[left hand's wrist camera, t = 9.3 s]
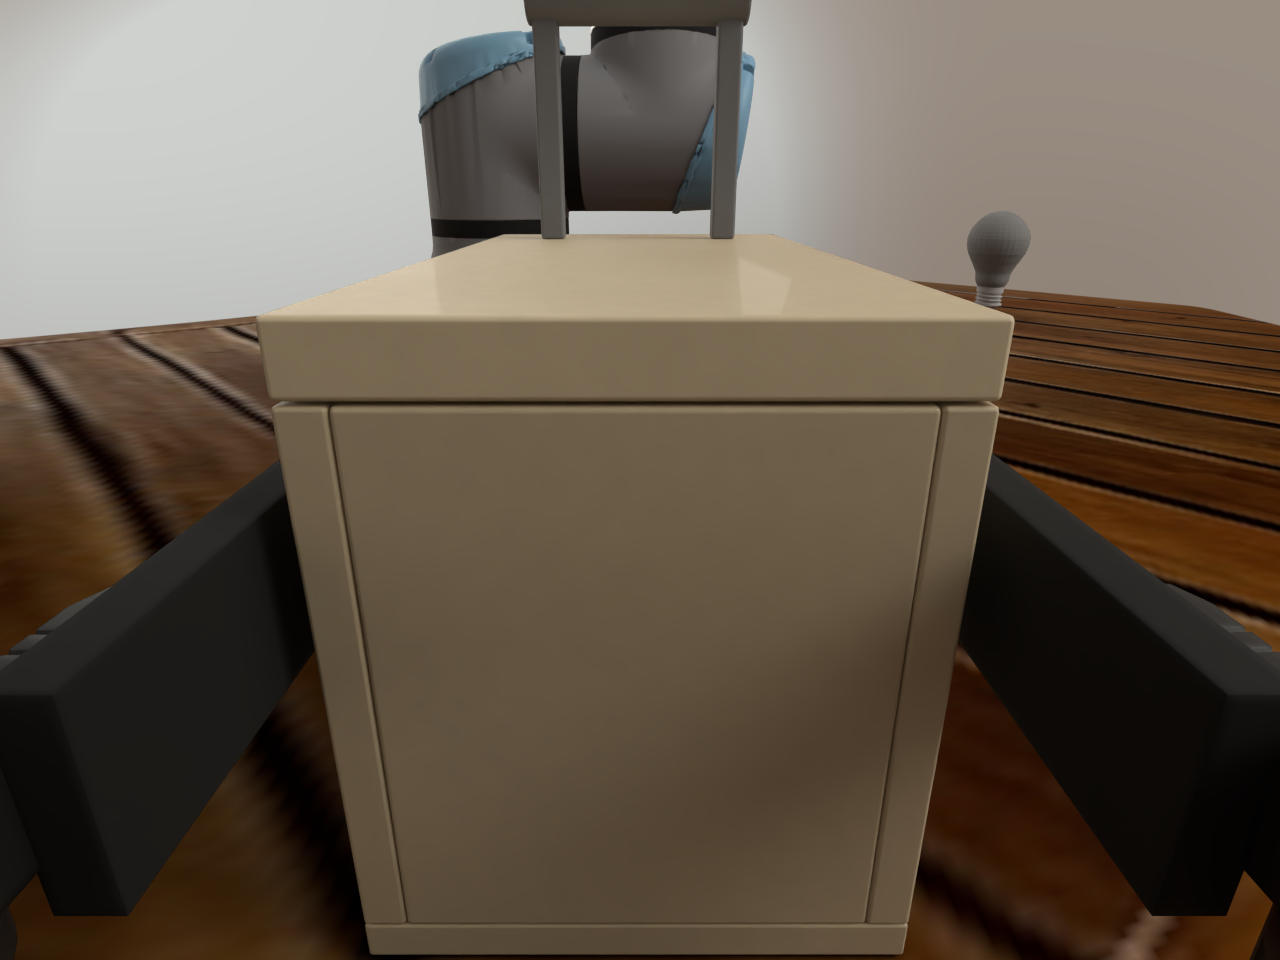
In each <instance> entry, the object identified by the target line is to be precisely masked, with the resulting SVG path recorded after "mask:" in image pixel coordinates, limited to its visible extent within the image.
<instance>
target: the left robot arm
mask: <svg viewBox="0 0 1280 960" xmlns="http://www.w3.org/2000/svg"><path fill="white" fill-rule="evenodd" d="M958 641H959V642H960V644H961V645H962V646H963V648H964V649H965V651H966V652H967V654H968V655H969V656H970V658H971V659H972V661H973V662H974V664H975V665H976V666H977V668H978V669H979V671H980V672H981V673H982V675H983V676H984V678H985V679H986V681H987V682H988V683H989V685H990V686H991V688H992V689H993V691H994V692H995V693H996V695H997V696H998V698H999V699H1000V700H1001V702H1002V703H1003V705H1004V706H1005V708H1006V709H1007V710H1008V712H1009V713H1010V715H1011V716H1012V718H1013V719H1014V720H1015V722H1016V723H1017V725H1018V726H1019V727H1020V729H1021V730H1022V732H1023V733H1024V735H1025V736H1026V737H1027V739H1028V740H1029V742H1030V743H1031V745H1032V746H1033V747H1034V749H1035V750H1036V752H1037V753H1038V754H1039V756H1040V757H1041V759H1042V760H1043V762H1044V763H1045V764H1046V766H1047V767H1048V769H1049V770H1050V772H1051V773H1052V774H1053V776H1054V777H1055V779H1056V780H1057V781H1058V783H1059V784H1060V786H1061V787H1062V789H1063V790H1064V791H1065V793H1066V794H1067V796H1068V797H1069V799H1070V800H1071V801H1072V803H1073V804H1074V806H1075V807H1076V808H1077V810H1078V811H1079V813H1080V814H1081V816H1082V817H1083V818H1084V820H1085V821H1086V823H1087V824H1088V826H1089V827H1090V828H1091V830H1092V831H1093V833H1094V834H1095V835H1096V837H1097V838H1098V840H1099V841H1100V843H1101V844H1102V845H1103V847H1104V848H1105V850H1106V851H1107V853H1108V854H1109V855H1110V857H1111V858H1112V860H1113V861H1114V862H1115V864H1116V865H1117V867H1118V868H1119V870H1120V871H1121V872H1122V874H1123V875H1124V877H1125V878H1126V880H1127V881H1128V882H1129V884H1130V885H1131V887H1132V888H1133V889H1134V891H1135V892H1136V894H1137V895H1138V897H1139V898H1140V899H1141V901H1142V902H1143V904H1144V905H1145V907H1146V908H1147V909H1148V911H1149V912H1150V914H1151V915H1152V916H1226V915H1227V912H1228V910H1229V907H1230V905H1231V902H1232V900H1233V897H1234V895H1235V892H1236V889H1237V887H1238V884H1239V882H1240V879H1241V877H1242V874H1243V872H1244V870H1245V872H1246V873H1247V874H1248V875H1249V876H1250V877H1251V878H1252V879H1253V881H1254V882H1255V883H1256V884H1257V885H1258V886H1259V887H1260V888H1261V890H1262V891H1263V892H1264V893H1265V894H1266V895H1267V896H1268V898H1269V899H1270V900H1271V901H1272V902H1273V905H1272V907H1271V910H1270V912H1269V914H1268V917H1267V919H1266V922H1265V924H1264V926H1263V929H1262V931H1261V933H1260V936H1259V938H1258V941H1257V943H1256V945H1255V948H1254V950H1253V953H1252V955H1251V957H1250V960H1280V652H1273V651H1272V647H1271V646H1270V645H1269V644H1267V643H1266V642H1264V641H1263V640H1262V639H1260V638H1259V637H1258V636H1256V635H1255V634H1253V633H1252V632H1245V627H1244V626H1242V625H1241V624H1240V623H1238V622H1237V621H1236V620H1234V619H1233V618H1231V617H1230V616H1229V615H1227V614H1226V613H1224V612H1223V611H1222V610H1220V609H1219V608H1218V607H1216V606H1215V605H1213V604H1212V603H1210V602H1208V601H1205V600H1203V599H1201V598H1199V597H1197V596H1195V595H1192V594H1190V593H1188V592H1186V591H1184V590H1182V589H1180V588H1177V587H1175V586H1173V585H1171V584H1165V583H1163V582H1162V581H1161V580H1159V579H1158V578H1157V577H1155V576H1154V575H1153V574H1151V573H1150V572H1149V571H1147V570H1146V569H1145V568H1143V567H1142V566H1141V565H1139V564H1138V563H1137V562H1135V561H1134V560H1133V559H1131V558H1130V557H1129V556H1127V555H1126V554H1125V553H1123V552H1122V551H1121V550H1119V549H1118V548H1117V547H1115V546H1114V545H1113V544H1111V543H1110V542H1109V541H1108V540H1106V539H1105V538H1104V537H1102V536H1101V535H1100V534H1098V533H1097V532H1096V531H1094V530H1093V529H1092V528H1090V527H1089V526H1088V525H1086V524H1085V523H1084V522H1082V521H1081V520H1080V519H1078V518H1077V517H1076V516H1074V515H1073V514H1072V513H1070V512H1069V511H1068V510H1066V509H1065V508H1064V507H1062V506H1061V505H1060V504H1058V503H1057V502H1056V501H1054V500H1053V499H1052V498H1050V497H1049V496H1048V495H1046V494H1045V493H1044V492H1042V491H1041V490H1040V489H1039V488H1037V487H1036V486H1035V485H1033V484H1032V483H1031V482H1029V481H1028V480H1027V479H1025V478H1024V477H1023V476H1021V475H1020V474H1019V473H1017V472H1016V471H1015V470H1013V469H1012V468H1011V467H1009V466H1008V465H1007V464H1005V463H1004V462H1003V461H1001V460H1000V459H999V458H997V457H996V456H995V455H993V454H991V460H990V465H989V471H988V477H987V482H986V488H985V493H984V499H983V505H982V510H981V516H980V521H979V527H978V533H977V538H976V544H975V549H974V555H973V561H972V566H971V572H970V577H969V583H968V589H967V594H966V600H965V605H964V611H963V617H962V622H961V628H960V633H959V639H958ZM314 651H315V647H314V642H313V636H312V631H311V626H310V620H309V615H308V609H307V604H306V598H305V593H304V587H303V582H302V577H301V571H300V566H299V560H298V555H297V549H296V544H295V538H294V533H293V528H292V522H291V517H290V511H289V506H288V500H287V495H286V489H285V484H284V479H283V473H282V468H281V462H280V460H279V461H277V462H276V463H275V464H273V465H272V466H271V467H269V468H268V469H267V470H265V471H264V472H263V473H261V474H260V475H259V476H257V477H256V478H255V479H253V480H252V481H251V482H249V483H248V484H247V485H245V486H244V487H243V488H242V489H240V490H239V491H238V492H236V493H235V494H234V495H232V496H231V497H230V498H228V499H227V500H226V501H224V502H223V503H222V504H220V505H219V506H218V507H216V508H215V509H214V510H212V511H211V512H210V513H208V514H207V515H206V516H204V517H203V518H202V519H200V520H199V521H198V522H196V523H195V524H194V525H192V526H191V527H190V528H188V529H187V530H186V531H184V532H183V533H182V534H180V535H179V536H178V537H176V538H175V539H174V540H173V541H171V542H170V543H169V544H167V545H166V546H165V547H163V548H162V549H161V550H159V551H158V552H157V553H155V554H154V555H153V556H151V557H150V558H149V559H147V560H146V561H145V562H143V563H142V564H141V565H139V566H138V567H137V568H135V569H134V570H133V571H131V572H130V573H129V574H127V575H126V576H125V577H123V578H122V579H121V580H119V581H118V582H117V583H115V584H114V585H113V586H111V587H109V588H107V589H105V590H103V591H101V592H99V593H96V594H94V595H92V596H90V597H88V598H86V599H84V600H81V601H79V602H77V603H75V604H73V605H71V606H69V607H67V608H66V609H64V610H63V611H62V612H60V613H59V614H58V615H56V616H55V617H54V618H52V619H51V620H49V621H48V622H47V623H45V624H44V625H43V626H41V627H40V628H39V629H37V630H36V635H29V636H28V637H26V638H25V639H23V640H22V641H21V642H19V643H18V644H17V645H15V646H14V647H13V648H11V649H10V650H9V655H2V656H0V960H14V957H15V951H16V945H17V939H18V938H17V932H16V926H15V922H14V919H13V917H12V914H11V912H10V910H9V907H8V906H9V904H10V903H11V902H12V901H13V900H14V899H15V898H16V896H17V895H18V894H19V893H20V892H21V891H22V890H23V888H24V887H25V886H26V885H27V884H28V883H29V882H30V881H31V879H32V878H33V877H34V876H35V875H36V874H38V877H39V879H40V882H41V884H42V887H43V889H44V892H45V894H46V897H47V900H48V902H49V905H50V907H51V910H52V912H53V915H54V916H128V915H129V914H130V912H131V911H132V909H133V908H134V907H135V905H136V904H137V902H138V901H139V899H140V898H141V897H142V895H143V894H144V892H145V891H146V889H147V888H148V887H149V885H150V884H151V882H152V881H153V880H154V878H155V877H156V875H157V874H158V872H159V871H160V870H161V868H162V867H163V865H164V864H165V862H166V861H167V860H168V858H169V857H170V855H171V854H172V853H173V851H174V850H175V848H176V847H177V845H178V844H179V843H180V841H181V840H182V838H183V837H184V835H185V834H186V833H187V831H188V830H189V828H190V827H191V826H192V824H193V823H194V821H195V820H196V818H197V817H198V816H199V814H200V813H201V811H202V810H203V808H204V807H205V806H206V804H207V803H208V801H209V800H210V799H211V797H212V796H213V794H214V793H215V791H216V790H217V789H218V787H219V786H220V784H221V783H222V781H223V780H224V779H225V777H226V776H227V774H228V773H229V772H230V770H231V769H232V767H233V766H234V764H235V763H236V762H237V760H238V759H239V757H240V756H241V754H242V753H243V752H244V750H245V749H246V747H247V746H248V745H249V743H250V742H251V740H252V739H253V737H254V736H255V735H256V733H257V732H258V730H259V729H260V727H261V726H262V725H263V723H264V722H265V720H266V719H267V718H268V716H269V715H270V713H271V712H272V710H273V709H274V708H275V706H276V705H277V703H278V702H279V700H280V699H281V698H282V696H283V695H284V693H285V692H286V691H287V689H288V688H289V686H290V685H291V683H292V682H293V681H294V679H295V678H296V676H297V675H298V673H299V672H300V671H301V669H302V668H303V666H304V665H305V664H306V662H307V661H308V659H309V658H310V656H311V655H312V654H313V652H314Z"/></svg>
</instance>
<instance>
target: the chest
mask: <svg viewBox="0 0 1280 960" xmlns="http://www.w3.org/2000/svg"><path fill="white" fill-rule="evenodd" d="M271 413H272V419H273V424H274V429H275V435H276V440H277V446H278V451H279V457H280V462H281V468H282V473H283V479H284V484H285V489H286V495H287V500H288V506H289V511H290V517H291V522H292V528H293V533H294V538H295V544H296V549H297V555H298V560H299V566H300V571H301V577H302V582H303V587H304V593H305V598H306V604H307V609H308V615H309V620H310V626H311V631H312V636H313V642H314V647H315V653H316V658H317V664H318V669H319V675H320V680H321V686H322V691H323V696H324V702H325V707H326V713H327V718H328V724H329V729H330V735H331V740H332V745H333V751H334V756H335V762H336V767H337V773H338V778H339V784H340V789H341V794H342V800H343V805H344V811H345V816H346V822H347V827H348V833H349V838H350V843H351V849H352V854H353V860H354V865H355V871H356V876H357V882H358V887H359V893H360V898H361V903H362V909H363V914H364V920H365V922H366V925H365V928H366V933H367V939H368V944H369V949H370V953H371V954H373V955H900V954H902V953H903V949H904V944H905V938H906V933H907V927H908V925H907V922H908V919H909V913H910V908H911V902H912V897H913V891H914V885H915V880H916V874H917V869H918V863H919V857H920V852H921V846H922V841H923V835H924V829H925V824H926V818H927V813H928V807H929V801H930V796H931V790H932V785H933V779H934V773H935V768H936V762H937V757H938V751H939V745H940V740H941V734H942V729H943V723H944V717H945V712H946V706H947V701H948V695H949V689H950V684H951V678H952V673H953V667H954V661H955V656H956V650H957V645H958V639H959V633H960V628H961V622H962V617H963V611H964V605H965V600H966V594H967V589H968V583H969V577H970V572H971V566H972V561H973V555H974V549H975V544H976V538H977V533H978V527H979V521H980V516H981V510H982V505H983V499H984V493H985V488H986V482H987V477H988V471H989V465H990V460H991V454H992V449H993V443H994V437H995V432H996V426H997V421H998V415H999V410H998V407H997V406H995V405H993V404H992V403H990V402H988V401H282V402H281V403H279V404H277V405H276V406H274V407H273V408H272V412H271Z"/></svg>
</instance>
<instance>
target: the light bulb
mask: <svg viewBox="0 0 1280 960" xmlns="http://www.w3.org/2000/svg"><path fill="white" fill-rule="evenodd" d="M1029 244H1030V232H1029V229H1028V226H1027V224H1026V223H1025V221H1024V220H1023V219H1022V218H1021V217H1020V216H1018V215H1016V214H1014V213H1011V212H1007V211H998V212H994V213H990V214H988V215H986V216H984V217H983V218H981V219H980V220H979V221H978V222H977V223H976V224H975V225H974V227H973V228H972V230H971V231H970V233H969V236H968V241H967V249H968V253H969V256H970V259H971V261H972V263H973V266H974V269H975V273H976V275H975V280H976V283H977V292H978V293H976V294H977V295H978V296H977V297H976V299H977V300H976V301H975V303H976V304H979V305H982V306H985V307H988V308H991V309H994V308H996V307H998V306H1001V303H1000V301H1002V300H1000V298H1001V297H1002V296H1001V294H1002V293H1003V291H1004V286H1005V285H1006V284H1007V283H1008V281H1009V278H1010V274H1011V272H1012V271H1013V269H1014V268H1015V267H1016V265H1017V264H1018V263H1019V261H1020V260H1021V259H1022V257H1023V256H1024V255H1025V253H1026V251H1027V249H1028V247H1029Z"/></svg>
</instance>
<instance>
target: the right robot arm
mask: <svg viewBox="0 0 1280 960" xmlns="http://www.w3.org/2000/svg"><path fill="white" fill-rule="evenodd" d="M716 27H717V26H592V27H591V54H590V55H581V56H566V55H565V47H564V46H563V44H562V41H561V39H560V38H559V40H560V69H561V99H562V128H563V158H564V188H565V217H566V234H569V220H568V217H569V211H673V213H675V214H678V213H679V212H680V211H693V210H711V184H712V152H713V121H714V89H715V58H716ZM754 69H755V60H754V58H753V57H752V56H750V55H747V54H746V53H745V52H742V67H741V90H740V113H739V136H738V160H737V177H738V173H739V168H740V163H741V159H742V154H743V149H744V143H745V138H746V132H747V126H748V120H749V114H750V107H751V100H752V93H753V84H754ZM419 88H420V108H421V109H420V111H419V115H418V116H419V122H420V124H421V126H422V137H423V146H424V156H425V166H426V176H427V186H428V196H429V206H430V216H431V225H432V236H433V252H432V257H431V258H434V257H437V256H440V255H443V254H446V253H449V252H452V251H455V250H458V249H461V248H464V247H467V246H470V245H473V244H476V243H479V242H482V241H485V240H489V239H492V238H495V237H498V236H501V235H504V234H542V233H541V211H540V189H539V167H538V144H537V122H536V100H535V78H534V56H533V34H532V31H530V32H522V31H508V32H498V33H490V34H483V35H477V36H472V37H467V38H463V39H459V40H455V41H452V42H449V43H446V44H444V45H441V46H439V47H437V48H435V49H434V50H432V51H431V52H430V53H428V54H427V55H426V57H425V58H424V59H423V61H422V63H421V66H420V69H419Z"/></svg>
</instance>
